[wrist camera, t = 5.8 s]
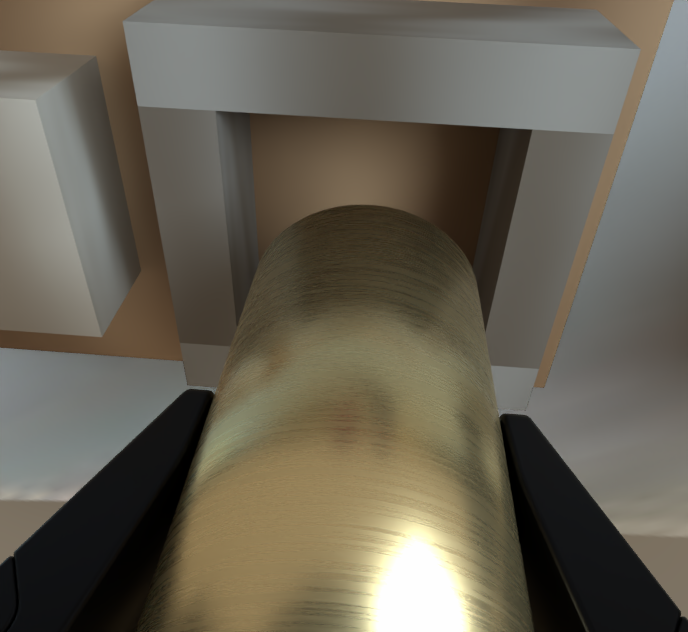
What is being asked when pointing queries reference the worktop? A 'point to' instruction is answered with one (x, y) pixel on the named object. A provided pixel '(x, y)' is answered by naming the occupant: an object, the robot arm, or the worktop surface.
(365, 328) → the cylinder
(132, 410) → the worktop surface
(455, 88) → the jig
